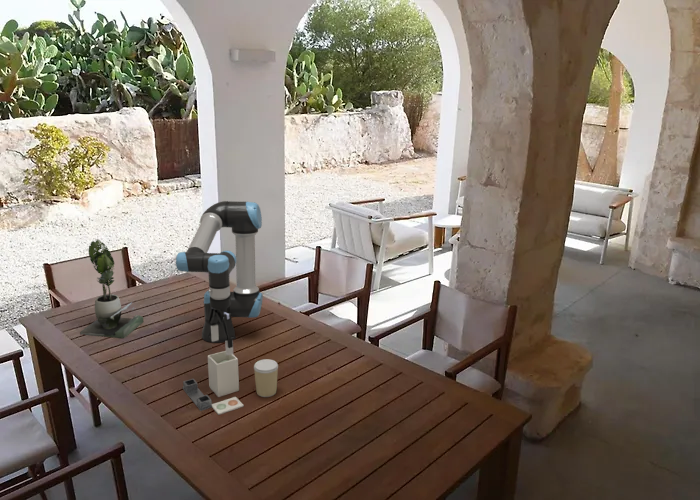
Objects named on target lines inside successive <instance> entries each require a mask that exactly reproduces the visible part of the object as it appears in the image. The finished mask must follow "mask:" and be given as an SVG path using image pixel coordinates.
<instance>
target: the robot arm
mask: <svg viewBox="0 0 700 500" xmlns="http://www.w3.org/2000/svg"><path fill="white" fill-rule="evenodd" d="M262 221H263V220H262V212H261V207H260V205H259V204H258V203H257V202H253V201H232V200H231V201H228V200H227V201H226V200H223V201H219V202H216V203H213V204H212V205H211V206H209V207H208V208H207V209H205V211H204V212H203V213H202V215H201V217H200V220H199V223H200V224H199V226H198V228H197V229H196V232H195V235H193V238H192V240H191V242H190V244H189V246H188V248H187V250H186V251H181V252H180V251H179V252H178V253H177V254H176V258H175V266H176V267H175V268H176V269H177V271H179V272H186V273H208V286H209V289H208V290H207V291H206V292H204V295H203V307H204V308H203V309H204V310H203V312H204V325H203V327H202V331H201V339H202V340H203V341H205V342H207V343H213V344H217V343H219V344H220V343H224V342H225V343H224V344H225V351H226V356H227V355H231V354H233V355H234V340H236V333H235V328H234V324H233V320H232V319H233V318H247V319H249V318H257V317H259V316H260V313H261V310H262V305H263V300H264V299H263V298H264V297H263V292H261V291H260V288H259V287H258V286H257V285H256V238H255V237H256V235H257V234H258V232H259V230H260V229H261V228H262V226H263V225H262V224H263V222H262ZM222 228H230V229H231V233H232V234H233V236H235V240H234V241H235V253H234V252H232V251H231V250H223V251H221V252H219V253H218V252H209V250H210V247H211V245H212V244H213V240H214V239H215V237H216V234H217V232H218V231H220V230H221V229H222ZM234 268H235V272H236V276H235V277H236V286H235V287H234V288H233V291H231V284H230V274H231V272H232V271H233V270H234Z"/></svg>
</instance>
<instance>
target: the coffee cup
mask: <svg viewBox="0 0 700 500" xmlns="http://www.w3.org/2000/svg"><path fill="white" fill-rule="evenodd" d="M253 370H254V381H255V389H256V390H255V391H256V393H257V394H256V395H257V396H259V397H262V398H269V397H273V396H274V395H276V393H277V387H278V372H279V371H278V370H279V364H278V362H277V361H275V360H274V359H266V358H264V359H260V360H258V361H257V362H255V363H254V364H253Z"/></svg>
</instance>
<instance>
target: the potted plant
mask: <svg viewBox="0 0 700 500" xmlns="http://www.w3.org/2000/svg"><path fill="white" fill-rule="evenodd" d="M88 256H89V260H90V262H91V264H92V266H93V268H94V270H95V271H96V272H97V273H98V274H99V275H100V277H96V281H97V282H98V283H99V284H101V285H102V294H103V295H99V296H97V297H96V298H95V299H94V313H95V318H96V320H95V321H93V322H92V323H90V324H89V325H87V327H85V328H83V329H81V331H80V332H79V333H80V335H82V334H85V336H95V337H103V336H104V338H115V339H125V338H126V337H127V336H129V335H130V334H131V333H133V332H134V331H135V330H136V329H137V328H138V327H139V326H141V325H142V324H143V323H144V316H141V314H140V315H138V314H135V315H134V316H133V317H132V318H129V317H121V316H122V312H123V311H126V310H127V309H129V307H130V306H132V304H133V301H132V302H130V303H128V304H127V305H125V306H124V307H123V308H122V303H121V299H120V297H119V295H117V294H113V293H111V287H110V286H111V285H112V284H113V283H114V282H115V280H114V279H115V277H113V275H114V270H115V268H114V267H115V260H114V258H113V256H112V253H111V251H110V250H109V248H108V246H107V245H106V243H104V242H102V241H101V240H100V239H98V238H97V239H96V240H94V241H93V240H92V241H91V242H90V245H89V246H88ZM107 291H108V294H107ZM134 309H135V307H132V308H131V310H132V311H133V310H134Z"/></svg>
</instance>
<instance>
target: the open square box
mask: <svg viewBox="0 0 700 500" xmlns="http://www.w3.org/2000/svg"><path fill="white" fill-rule="evenodd" d="M224 360H228V361H225V362H222V361H224ZM221 362H222V363H221ZM207 371H208V384H209V386H208V387H209V389H210V390H211V391H212V392H213V393H214V394H215V395H216V397H217V398H221V397H224V396H226V395H229V394H232V393H235V392H238V391H240V382H239V360H238V358H237V356H235V354H234V353H233V354H231V355H227V356H226V350H223V351H220V352H216V353H212V354H209V355H207Z"/></svg>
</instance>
